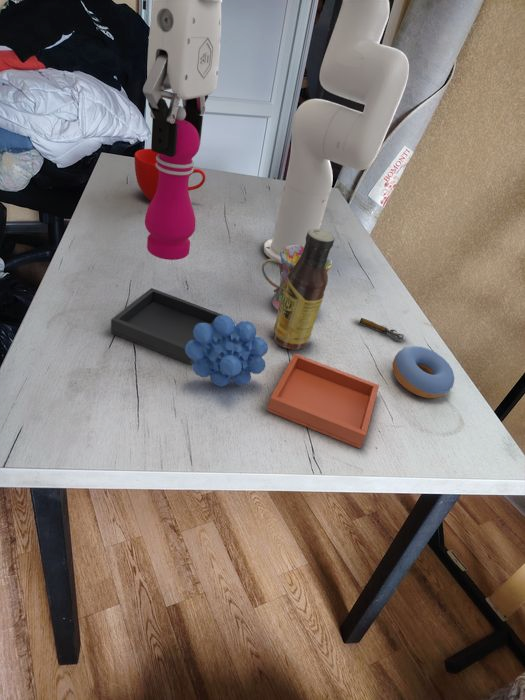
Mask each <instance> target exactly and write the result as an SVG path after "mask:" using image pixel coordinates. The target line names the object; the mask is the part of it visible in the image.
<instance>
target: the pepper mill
mask: <svg viewBox="0 0 525 700" xmlns="http://www.w3.org/2000/svg"><path fill="white" fill-rule="evenodd" d="M185 117H186V112H185V109H184V108H183V106H181V105H179V106H178V110H177V114H176V118H175V123H178V130H177V143H176V155H175V156H174V157H169V156H166V155H163V154H158V155H157V156H156V160H157V163H156V167H157V168H158V169H159V181H158V187H157V191H156V194H155V196H154V198H153V199H152V201H150V202H149V205H148V206H147V210H146V212H145V216H144V227H145V228H146V230H147V232H148V233H149V234H148V236H147V237H146V238H147V239H146V249H147V251H148V252H149V254H150V255H152V256H153V257H156V258H159V259H163V260H169V261H177V260H183V259H185V258H186V257H187V256H189V254H190V250H191V249H190V248H191V241H190V239H189V238H190V237H192V236H193V234H194V233H195V231H196V215H195V211H194V208H193V205H192V202H191V198H190V193H189V191H190V190H189V191H188V187H189V181H190V177H191V175H192V174H191V173H192V172H193V169H194V165H195V162H194V160H193V158H194V157H195V156H196V155H197V154H198V153H199V150H200V146H201V141H200V138H199V134H198V132H197V130H196V128H195V127H194V126H193V125H192V124H191V123H190V122H188V121H186V120H184V119H185ZM190 174H191V175H190Z"/></svg>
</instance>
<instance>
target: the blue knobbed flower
mask: <svg viewBox="0 0 525 700" xmlns="http://www.w3.org/2000/svg"><path fill="white" fill-rule="evenodd" d="M193 335H194V338H195V339H196V340H190V341H189V342H188V343H187V344H186V347H185V352H186V354H187V355H188V357H189V358H191V359H193V360H194V361H193V362H192V363H191V367H192V371H193V372H194V374H195V375H196V376H198V377H201V378H210V381H211V382H212V383H213V384H214V385H215V386H217V387H222V388H223V387H226V386H228V385H229V384H230V383H231V381H233V382H234V384H236V385H238V386H246V385H247V384H248V383H250V381H251V379H252V374H253V375H259V374H261V373H262V372H264V371H265V369H266V361H265V359H264V358H263V357H264V356H265V355H266V354H267V353H268V350H269V345H268V343H267V341H266V340H265V339H264V338H263V337H262V336H261V337H260V336H257V329H256V327H255V325H254V324H253V323H252V322H250V321H248V320H241V321H239V322H238V323H237V324H236V322H235V321H234V320H233V319H232V317H231V316H229V315H226V314H223V315H219V316H218V317H216V318H215V320H214V322H213V327H212V326H211V325H210V324H208V323H198V324H197V325H196V326H195V327H194V330H193Z"/></svg>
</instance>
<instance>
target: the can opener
mask: <svg viewBox="0 0 525 700" xmlns="http://www.w3.org/2000/svg"><path fill="white" fill-rule="evenodd" d="M359 324H361V325H363V326H365V327H367V328H370V329H374V330H376V331H379V332H381V333H382V334H383V333H384V334H388V335H389V337H391V339H393V340H396V341H400V342H406V340H405V339H403V338H404V336H405V335H404V334H403V333H398V332H397V330H396V329H389V328H387V327H386V326H383V325H380V324H378V323H376V322H374V321H372V320H369V319H366V318H364V317H360V320H359Z"/></svg>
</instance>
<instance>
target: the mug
mask: <svg viewBox="0 0 525 700" xmlns="http://www.w3.org/2000/svg"><path fill="white" fill-rule="evenodd" d="M304 247H305V246H302V245H290V246H286V247H284V248H283V249H282V250H281V251H280V256H281V261H282V264H280V262H279V261H277V260H275V259H270V258H267V259H265V260H264V261H263V263H262V265H261V271H262V274H263V276H264V278H265V280H266V281H267V282H268V283H269V284H270V285H271V286H272V287H274V288H275V289H273V293H274V294H273V295H272V297H271V304H272V306H273V307H274V309H276V310H277V312H278V311H279V307H280V303H281V299H282V295H283V292H284V288H285V285H286V281H287V277H288V275H289V273H290V272H291V270H292V269H293V267H294V266H295V265H296V263H297V262H298V260H299V259H300V258H301V256H302V253H303V251H304ZM268 263H275V264H277V265H278V267H279V272H280V273H281V279H280V283H279V285H278V284H276V283H275V282H273V281H272V280H271V279H270V278H269V276H268V275H267V273H266V270H265V266H266V265H267V264H268ZM332 266H333V261H332V259H331V258H330V257H329V256H328V257H327V263H326V264H325V267H326V269H327V272H329V271H330V269H331V268H332Z"/></svg>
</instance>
